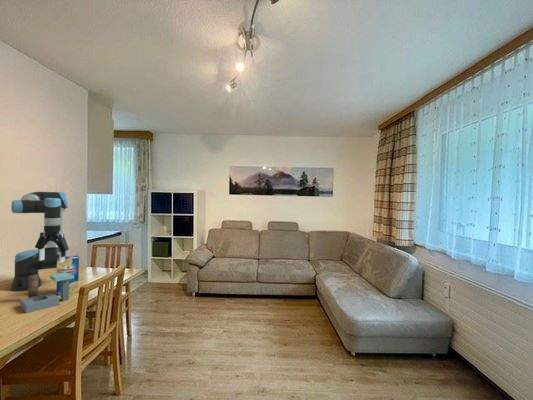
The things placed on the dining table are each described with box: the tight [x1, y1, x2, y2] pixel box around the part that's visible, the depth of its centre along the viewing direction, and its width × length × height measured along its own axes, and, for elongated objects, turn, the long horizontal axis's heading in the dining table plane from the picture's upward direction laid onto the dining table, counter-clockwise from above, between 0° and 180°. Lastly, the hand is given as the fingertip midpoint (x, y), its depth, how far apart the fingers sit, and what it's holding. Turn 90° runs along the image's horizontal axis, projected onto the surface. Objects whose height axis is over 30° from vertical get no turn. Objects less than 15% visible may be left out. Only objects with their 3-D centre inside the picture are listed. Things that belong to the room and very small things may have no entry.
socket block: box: [19, 292, 60, 314], centre depth 150 cm, size 12×14×4 cm
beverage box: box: [55, 255, 80, 297], centre depth 170 cm, size 7×11×22 cm, turn 126°
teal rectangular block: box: [49, 272, 71, 302], centre depth 158 cm, size 9×8×15 cm
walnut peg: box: [27, 275, 40, 298], centre depth 158 cm, size 4×4×14 cm
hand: (51, 261), depth 158 cm, fingers open, 13 cm apart
